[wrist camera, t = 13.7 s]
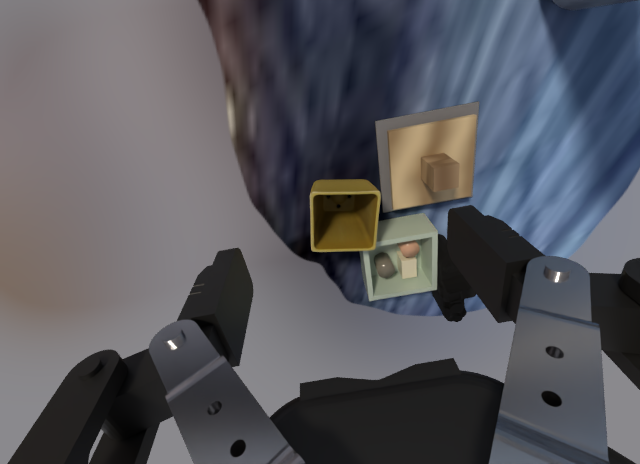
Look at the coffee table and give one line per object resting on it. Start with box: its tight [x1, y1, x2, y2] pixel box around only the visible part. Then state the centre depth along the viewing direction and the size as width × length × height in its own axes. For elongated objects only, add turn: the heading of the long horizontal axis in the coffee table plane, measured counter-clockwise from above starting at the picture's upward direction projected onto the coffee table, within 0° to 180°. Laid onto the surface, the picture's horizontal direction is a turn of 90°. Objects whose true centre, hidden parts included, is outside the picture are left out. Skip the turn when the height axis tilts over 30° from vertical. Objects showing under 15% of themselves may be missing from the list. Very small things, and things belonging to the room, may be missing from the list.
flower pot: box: [310, 179, 381, 252], centre depth 44 cm, size 9×9×9 cm
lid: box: [387, 114, 477, 210], centre depth 43 cm, size 12×12×7 cm
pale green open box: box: [359, 213, 438, 301], centre depth 51 cm, size 11×11×6 cm
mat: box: [375, 102, 479, 213], centre depth 46 cm, size 14×14×1 cm
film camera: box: [432, 234, 476, 322], centre depth 52 cm, size 15×10×9 cm, turn 15°
